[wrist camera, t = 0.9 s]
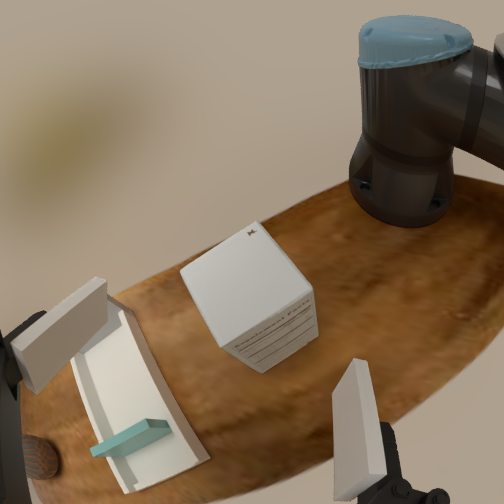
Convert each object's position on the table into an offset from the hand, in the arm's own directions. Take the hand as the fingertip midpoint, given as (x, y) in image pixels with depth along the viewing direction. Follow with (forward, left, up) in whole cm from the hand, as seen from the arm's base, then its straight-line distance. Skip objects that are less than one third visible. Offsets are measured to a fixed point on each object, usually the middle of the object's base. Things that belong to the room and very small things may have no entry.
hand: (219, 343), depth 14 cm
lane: (+14, +9, -16) cm, 24 cm away
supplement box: (+2, -5, -17) cm, 18 cm away
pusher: (+10, +12, -16) cm, 22 cm away
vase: (+23, +27, -17) cm, 39 cm away
